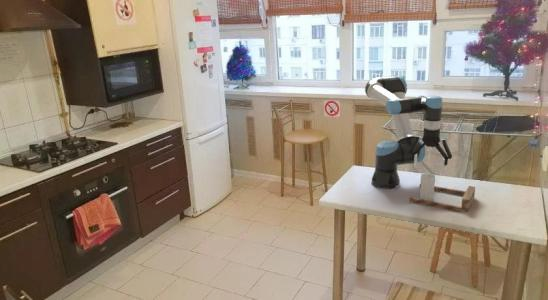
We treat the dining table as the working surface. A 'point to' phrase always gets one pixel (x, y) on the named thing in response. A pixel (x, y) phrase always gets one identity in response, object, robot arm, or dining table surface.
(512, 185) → the dining table surface
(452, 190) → the guide lane
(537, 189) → the dining table surface
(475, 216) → the dining table surface
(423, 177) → the mug
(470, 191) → the end stop
